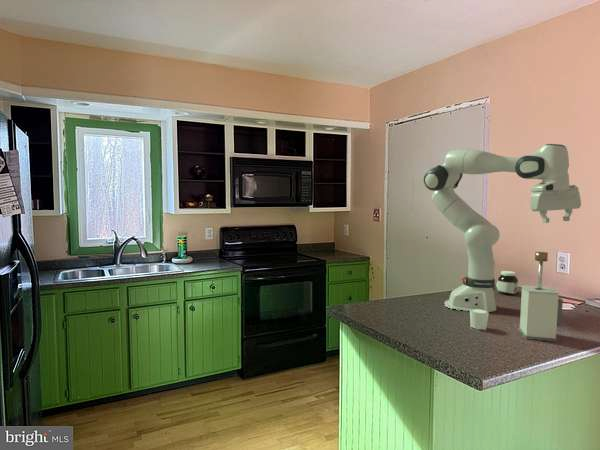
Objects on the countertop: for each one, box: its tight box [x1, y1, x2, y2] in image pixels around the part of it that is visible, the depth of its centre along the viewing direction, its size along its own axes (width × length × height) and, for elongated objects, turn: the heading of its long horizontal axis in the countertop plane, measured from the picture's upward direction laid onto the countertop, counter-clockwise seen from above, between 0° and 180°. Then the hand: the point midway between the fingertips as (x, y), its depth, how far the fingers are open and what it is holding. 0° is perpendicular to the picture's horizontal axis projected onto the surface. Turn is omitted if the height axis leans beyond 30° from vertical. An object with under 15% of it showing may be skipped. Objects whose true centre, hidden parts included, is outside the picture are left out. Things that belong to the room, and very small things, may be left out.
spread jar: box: [495, 270, 519, 296], centre depth 221 cm, size 12×11×12 cm
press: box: [518, 284, 564, 343], centre depth 154 cm, size 13×10×18 cm
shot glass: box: [469, 309, 490, 330], centre depth 163 cm, size 7×7×7 cm
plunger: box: [534, 251, 549, 290], centre depth 154 cm, size 7×7×20 cm
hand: (556, 221), depth 160 cm, fingers open, 8 cm apart
